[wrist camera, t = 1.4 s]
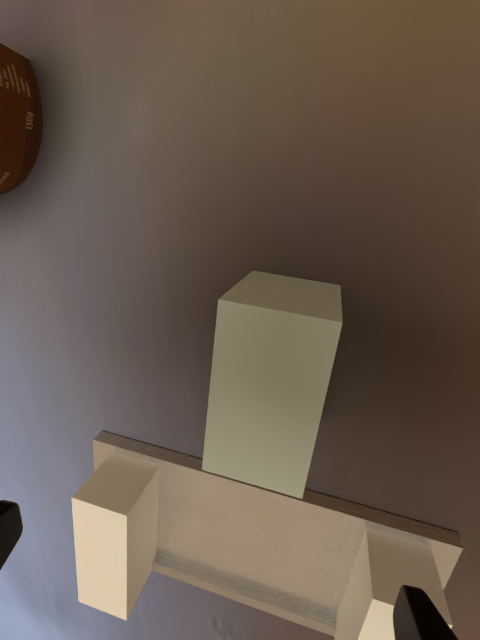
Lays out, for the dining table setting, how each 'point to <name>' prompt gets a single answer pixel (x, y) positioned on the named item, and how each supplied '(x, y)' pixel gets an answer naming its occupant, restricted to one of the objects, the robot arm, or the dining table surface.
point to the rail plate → (265, 537)
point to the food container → (18, 119)
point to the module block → (270, 379)
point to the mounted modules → (141, 548)
